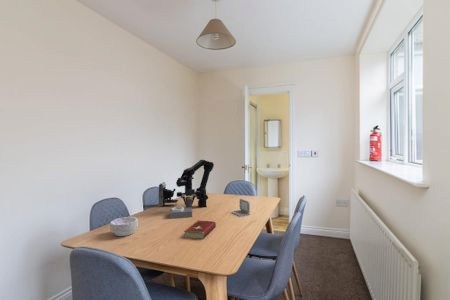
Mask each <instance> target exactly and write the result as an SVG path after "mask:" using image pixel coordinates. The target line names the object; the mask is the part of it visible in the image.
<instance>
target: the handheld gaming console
mask: <svg viewBox="0 0 450 300" xmlns="http://www.w3.org/2000/svg"><path fill="white" fill-rule="evenodd" d="M250 206H251V205H250V202H249V201H248V200H246V199H243V198H239V209H237V210H232V211H231V214H233V215H235V216H237V217H245V216H251V213H250V212H251V211H250V208H251V207H250Z"/></svg>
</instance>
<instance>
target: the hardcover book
mask: <svg viewBox="0 0 450 300" xmlns="http://www.w3.org/2000/svg"><path fill="white" fill-rule="evenodd" d="M216 227H217V223H216V221H215V220H200V219H198V220H197V221H196V222H194V223H192V225H190V226H189V227H187V228H186V229H185V230H184V231H183V232H184V237H185V238H189V239H191V238H192V239H200V240H201V239H202V240H205V238H207V236H209V234H210V233H211V232H212V231H214V229H216Z"/></svg>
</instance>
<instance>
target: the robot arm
mask: <svg viewBox="0 0 450 300" xmlns="http://www.w3.org/2000/svg"><path fill="white" fill-rule="evenodd" d="M214 166H215V164H214V162H213V161H208V160H205V159H200V160H198V162H196V163H195V164H194V165H192V166H190V167H188V168H185V169H184V170H183V171H182V173H181V176H180V177H178V178H177V180H176V182H175V184H176V187H178V188H181V187H184V192H182V191H177V192H176V197H177V198H178V197H179V198H182V201H183V202H184V203H183V204H184V205H185V206H186V199H185V198H186V197H192V205H193V204H194V200H195V198H196V200H197V206H198V207H199V208H206V207H207V200H208V199H209V196H208V195H207V189H206V187H207V183H208V180H209V176H210V173H211V171H213V168H214ZM200 168H203V175H202V178H201V181H200V184H199V185H200V186H199V187H197V188H196V189H193V180H194V177H193V176H194V175H195V173H196V171H198V170H199V169H200Z"/></svg>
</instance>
